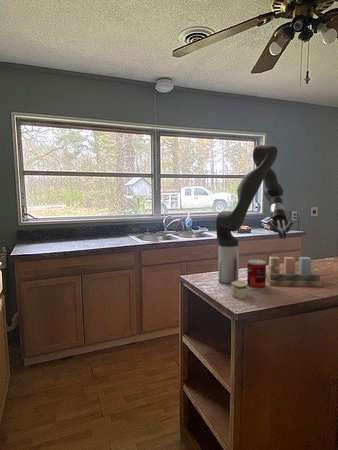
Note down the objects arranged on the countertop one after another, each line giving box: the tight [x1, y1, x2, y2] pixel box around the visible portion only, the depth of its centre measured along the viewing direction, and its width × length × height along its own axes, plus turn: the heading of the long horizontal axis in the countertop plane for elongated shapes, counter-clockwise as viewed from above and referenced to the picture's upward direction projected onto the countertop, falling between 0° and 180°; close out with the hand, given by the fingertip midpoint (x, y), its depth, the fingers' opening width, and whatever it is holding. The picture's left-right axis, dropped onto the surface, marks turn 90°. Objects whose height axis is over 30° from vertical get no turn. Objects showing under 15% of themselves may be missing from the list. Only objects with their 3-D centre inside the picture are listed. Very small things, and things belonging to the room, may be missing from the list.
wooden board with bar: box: [266, 271, 324, 288], centre depth 132 cm, size 22×16×4 cm
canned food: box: [246, 259, 267, 289], centre depth 126 cm, size 8×8×11 cm
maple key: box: [268, 256, 281, 274], centre depth 135 cm, size 4×4×8 cm
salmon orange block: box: [283, 256, 296, 274], centre depth 134 cm, size 4×4×8 cm
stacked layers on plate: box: [230, 280, 249, 300], centre depth 114 cm, size 10×9×6 cm
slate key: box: [298, 256, 312, 274], centre depth 133 cm, size 4×4×8 cm
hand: (283, 237), depth 146 cm, fingers closed
